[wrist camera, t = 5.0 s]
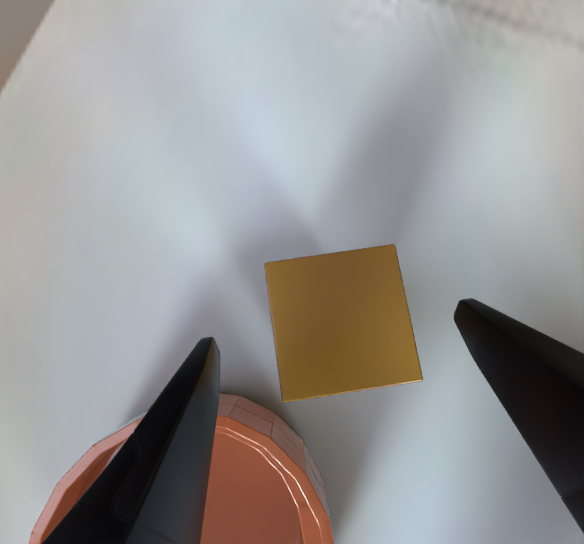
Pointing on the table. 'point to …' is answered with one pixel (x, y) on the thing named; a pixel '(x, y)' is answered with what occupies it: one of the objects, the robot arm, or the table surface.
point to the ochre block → (341, 323)
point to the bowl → (228, 481)
